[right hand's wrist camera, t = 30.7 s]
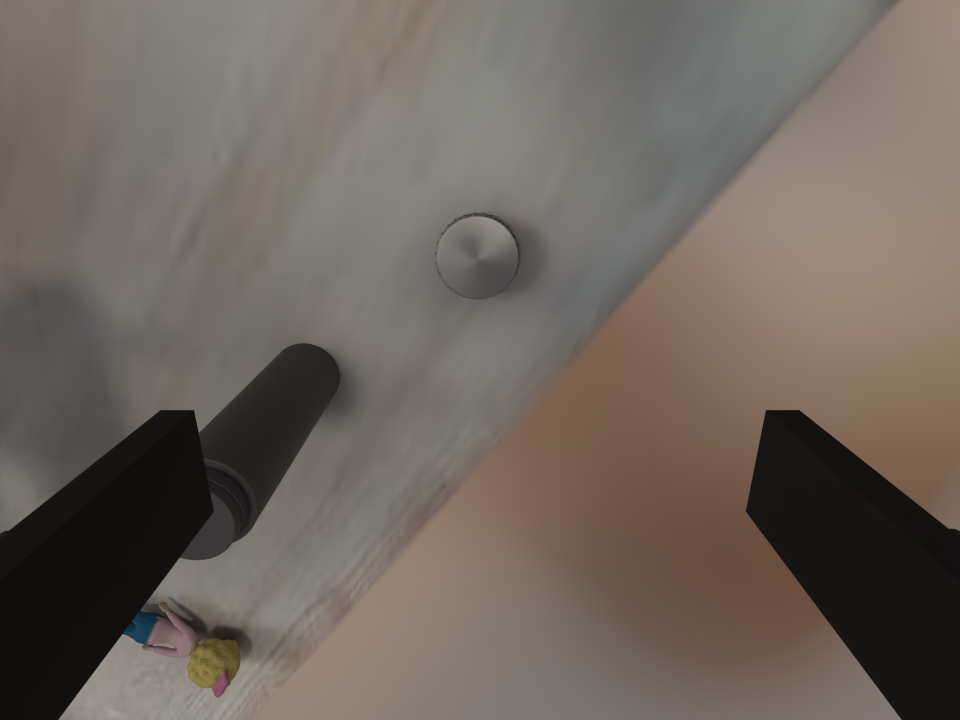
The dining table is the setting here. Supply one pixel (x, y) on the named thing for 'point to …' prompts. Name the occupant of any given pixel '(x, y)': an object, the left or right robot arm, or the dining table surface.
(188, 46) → the dining table surface
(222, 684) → the figurine
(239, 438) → the bottle
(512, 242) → the lid
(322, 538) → the dining table surface
